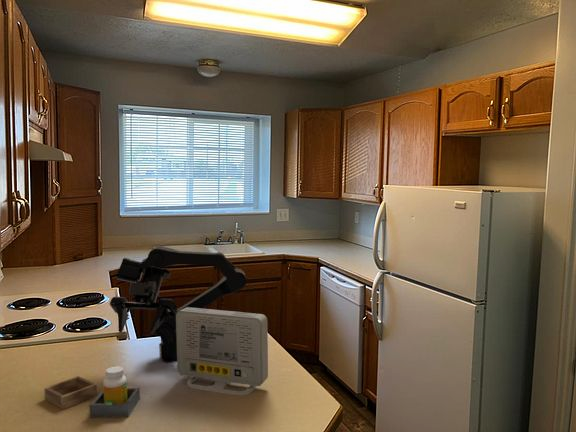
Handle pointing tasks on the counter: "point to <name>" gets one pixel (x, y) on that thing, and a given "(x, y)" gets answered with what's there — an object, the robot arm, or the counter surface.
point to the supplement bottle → (115, 385)
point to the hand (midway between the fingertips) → (135, 332)
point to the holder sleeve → (65, 401)
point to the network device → (222, 348)
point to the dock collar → (114, 405)
